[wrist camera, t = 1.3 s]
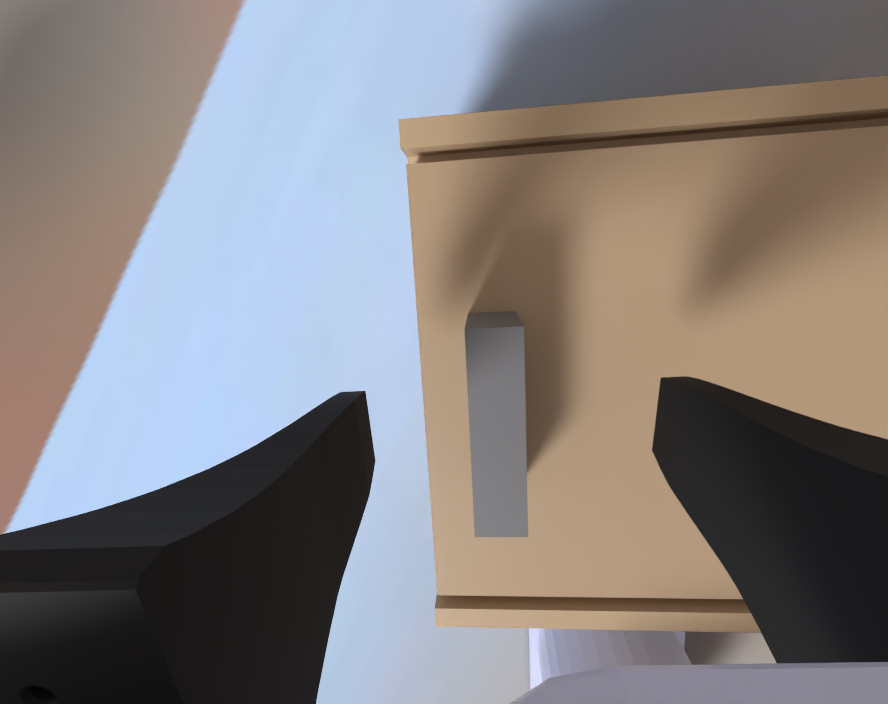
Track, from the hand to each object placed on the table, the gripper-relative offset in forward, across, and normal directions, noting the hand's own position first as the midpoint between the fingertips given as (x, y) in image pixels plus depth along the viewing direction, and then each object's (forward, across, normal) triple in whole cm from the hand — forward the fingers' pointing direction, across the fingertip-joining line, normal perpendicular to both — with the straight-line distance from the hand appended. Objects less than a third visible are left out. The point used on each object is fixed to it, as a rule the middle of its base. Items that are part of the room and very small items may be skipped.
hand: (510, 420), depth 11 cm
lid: (+4, -5, +1) cm, 7 cm away
